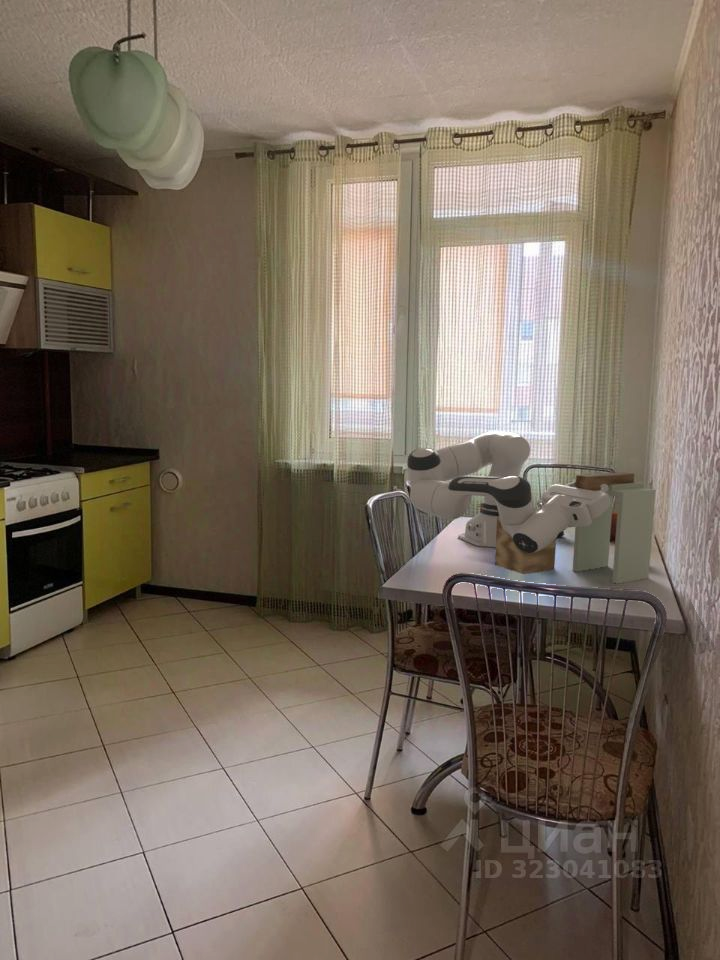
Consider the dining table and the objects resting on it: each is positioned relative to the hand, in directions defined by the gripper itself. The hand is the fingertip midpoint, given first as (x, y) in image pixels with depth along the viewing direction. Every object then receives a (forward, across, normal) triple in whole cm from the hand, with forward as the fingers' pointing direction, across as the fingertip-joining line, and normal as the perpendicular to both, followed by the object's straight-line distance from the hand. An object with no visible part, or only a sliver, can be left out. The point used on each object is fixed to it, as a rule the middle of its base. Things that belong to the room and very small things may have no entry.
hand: (592, 484), depth 204 cm
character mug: (+18, -46, -42) cm, 65 cm away
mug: (+32, -33, -50) cm, 68 cm away
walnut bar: (+4, 0, -4) cm, 6 cm away
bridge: (-4, 0, -29) cm, 30 cm away
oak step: (-19, -18, -21) cm, 34 cm away
